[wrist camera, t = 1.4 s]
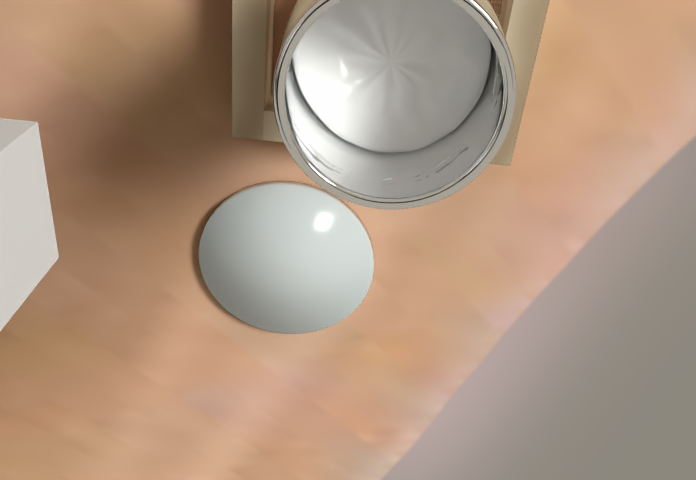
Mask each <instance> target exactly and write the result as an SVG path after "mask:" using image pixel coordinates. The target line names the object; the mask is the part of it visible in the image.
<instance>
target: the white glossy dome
mask: <svg viewBox="0 0 696 480" xmlns="http://www.w3.org/2000/svg"><path fill="white" fill-rule="evenodd" d="M199 264H200V269H201V273H202V276H203V278H204V281H205V283H206V285H207V287H208V289H209V290H210V292H211V294H212V295H213V296H214V297H215V299H216V300H217V301H218V302H219V303H220V304H221V305H222V306H223V307H224V308H225V309H226V310H227V311H228V312H230V313H231V314H232V315H234V316H235V317H237V318H238V319H240V320H242V321H244V322H246V323H248V324H250V325H252V326H255V327H257V328H260V329H263V330H267V331H271V332H277V333H286V334H299V333H308V332H314V331H318V330H321V329H325V328H327V327H330V326H332V325H334V324H336V323H338V322H340V321H341V320H343V319H344V318H346V317H347V316H349V315H350V314H351V313H352V312H353V311H354V310H355V309H356V308H357V307H358V306H359V305H360V303H361V302H362V301H363V299H364V298H365V296H366V294H367V292H368V290H369V287H370V285H371V282H372V277H373V269H374V255H373V247H372V243H371V239H370V237H369V234H368V232H367V230H366V228H365V226H364V225H363V223H362V221H361V220H360V218H359V217H358V216H357V215H356V213H355V212H354V211H353V210H352V209H351V208H350V207H349V206H348V205H347V204H345V203H344V202H343V201H341V200H340V199H339V198H337V197H336V196H334V195H332V194H330V193H329V192H327V191H325V190H322V189H320V188H317V187H315V186H311V185H308V184H304V183H299V182H293V181H270V182H264V183H259V184H255V185H252V186H249V187H246V188H244V189H242V190H240V191H237V192H235V193H234V194H232V195H231V196H230V197H228V198H227V199H225V200H224V201H223V202H222V203H221V204H220V205H219V206H218V207H217V208H216V210H215V211H214V212H213V213H212V215H211V216H210V218H209V220H208V222H207V224H206V226H205V228H204V231H203V233H202V236H201V240H200V244H199Z"/></svg>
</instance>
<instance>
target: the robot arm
mask: <svg viewBox="0 0 696 480" xmlns="http://www.w3.org/2000/svg"><path fill="white" fill-rule="evenodd" d="M58 258H59V256H58V249H57V243H56V236H55V230H54V224H53V217H52V211H51V204H50V198H49V192H48V185H47V179H46V172H45V166H44V160H43V153H42V147H41V140H40V134H39V128H38V122H33V121H24V120H14V119H4V118H0V331H1V330H2V329H3V327H4V326H5V325H6V324H7V322H8V321H9V320H10V318H11V317H12V316H13V315H14V313H15V312H16V311H17V310H18V308H19V307H20V306H21V305H22V303H23V302H24V301H25V300H26V298H27V297H28V296H29V294H30V293H31V292H32V291H33V289H34V288H35V287H36V286H37V284H38V283H39V282H40V281H41V279H42V278H43V277H44V276H45V274H46V273H47V272H48V271H49V269H50V268H51V267H52V265H53V264H54V263H55V262H56V260H57V259H58Z"/></svg>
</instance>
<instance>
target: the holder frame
mask: <svg viewBox="0 0 696 480" xmlns="http://www.w3.org/2000/svg"><path fill="white" fill-rule="evenodd" d="M549 1H550V0H502V3H501V8H500V13H499V18H498V19H499V22H500V24H501V27H502V30H503V33H504V36H505V39H506V41H507V43H508V46H509V48H510V51H511V54H512V58H513V61H514V66H515V72H516V81H517V95H516V105H515V111H514V116H513V120H512V123H511V126H510V129H509V131H508V134H507V136H506V138H505V140H504V142H503V144H502V146H501V148H500V150H499V151H498V153H497V154H496V156H495V157H494V159H493V160H492V161H491V162H490V164H497V165H507V166H510V164H511V160H512V156H513V152H514V148H515V143H516V139H517V135H518V131H519V127H520V122H521V118H522V114H523V110H524V106H525V101H526V97H527V93H528V89H529V85H530V81H531V76H532V72H533V68H534V64H535V60H536V55H537V51H538V47H539V43H540V39H541V34H542V30H543V26H544V22H545V18H546V13H547V9H548V5H549ZM273 29H274V0H232V137H235V138H244V139H254V140H264V141H273V142H283V140H282V138H281V136H280V133H279V130H278V127H277V124H276V120H275V115H274V109H273V97H272V94H271V89H272V59H273Z"/></svg>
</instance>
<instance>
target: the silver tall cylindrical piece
mask: <svg viewBox="0 0 696 480" xmlns="http://www.w3.org/2000/svg"><path fill="white" fill-rule="evenodd" d="M516 95H517V81H516V72H515V66H514V61H513V58H512V54H511V51H510V48H509V46H508V43H507V41H506V39H505V36H504V33H503V30H502V27H501V24H500V22H499V19H498V16H497V14H496V12H495V10H494V8H493V6H492V4H491V2H490V0H297V2H296V4H295V6H294V8H293V10H292V13H291V15H290V18H289V20H288V23H287V26H286V28H285V32H284V35H283V39H282V44H281V48H280V53H279V57H278V60H277V63H276V67H275V72H274V78H273V90H272V97H273V109H274V115H275V120H276V124H277V127H278V130H279V133H280V136H281V138H282V140H283V143H284V145H285V147H286V148H287V150H288V152H289V154H290V155H291V157H292V158H293V160H294V161H295V162H296V164H297V165H298V166H299V167H300V169H301V170H302V171H303V172H304V173H305V174H306V175H307V176H308V177H309V178H310V179H311V180H313V181H314V182H315V183H316V184H317V185H319V186H320V187H322V188H323V189H324V190H326V191H328V192H329V193H331V194H333V195H335V196H337V197H339V198H341V199H343V200H345V201H348V202H351V203H354V204H357V205H360V206H365V207H369V208H376V209H389V210H394V209H408V208H414V207H420V206H424V205H427V204H431V203H434V202H436V201H439V200H441V199H444V198H446V197H448V196H450V195H452V194H454V193H455V192H457V191H459V190H460V189H462V188H464V187H465V186H466V185H468V184H469V183H470V182H472V181H473V180H474V179H475V178H476V177H477V176H478V175H479V174H481V173H482V172H483V170H484V169H485V168H486V167H487V166H488V165H489V164H490V162H491V161H492V160H493V159H494V157H495V156H496V154H497V153H498V151H499V150H500V148H501V146H502V144H503V142H504V140H505V138H506V136H507V134H508V131H509V129H510V126H511V123H512V120H513V116H514V111H515V105H516Z"/></svg>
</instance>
